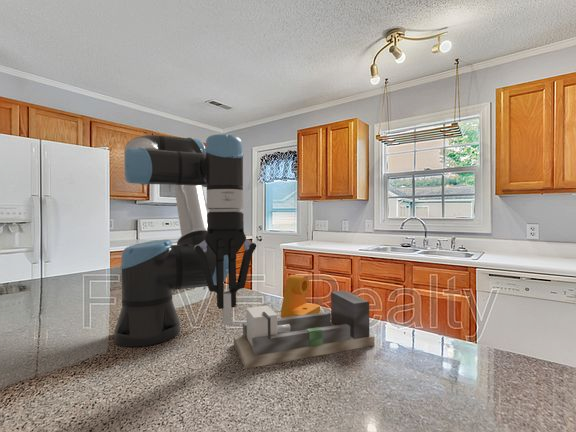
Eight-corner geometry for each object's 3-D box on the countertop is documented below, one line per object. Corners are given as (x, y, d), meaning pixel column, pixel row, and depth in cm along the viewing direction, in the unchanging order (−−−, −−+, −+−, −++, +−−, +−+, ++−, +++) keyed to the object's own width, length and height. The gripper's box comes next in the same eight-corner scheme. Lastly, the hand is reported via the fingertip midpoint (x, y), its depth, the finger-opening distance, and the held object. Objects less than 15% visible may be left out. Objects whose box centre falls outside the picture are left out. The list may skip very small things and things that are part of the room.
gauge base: (245, 369, 62) (244, 318, 62) (233, 344, 74) (233, 301, 73) (374, 345, 73) (374, 301, 72) (347, 327, 84) (347, 289, 84)
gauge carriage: (257, 355, 63) (257, 319, 63) (246, 337, 72) (246, 306, 72) (299, 348, 66) (299, 314, 66) (284, 332, 75) (283, 301, 75)
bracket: (303, 325, 86) (302, 281, 86) (280, 320, 90) (280, 278, 90) (321, 314, 95) (321, 274, 95) (300, 310, 99) (300, 271, 99)
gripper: (193, 211, 61) (195, 333, 61) (260, 210, 65) (261, 324, 65) (191, 211, 68) (193, 321, 68) (251, 210, 72) (252, 314, 73)
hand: (226, 322), depth 67 cm, fingers closed
